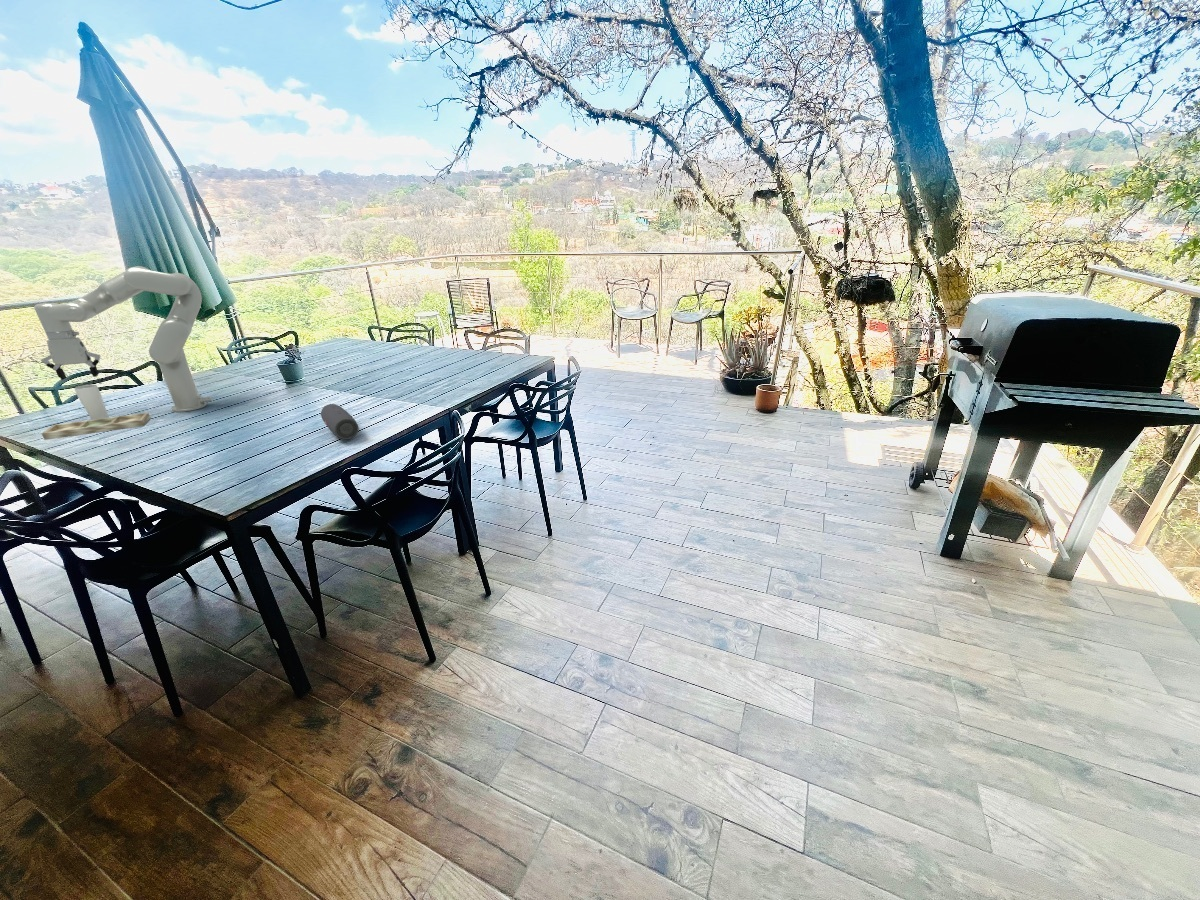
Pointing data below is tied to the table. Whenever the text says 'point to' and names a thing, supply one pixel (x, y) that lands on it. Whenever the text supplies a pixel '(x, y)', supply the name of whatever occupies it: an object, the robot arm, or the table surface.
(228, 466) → the table surface
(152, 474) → the table surface
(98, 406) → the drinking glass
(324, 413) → the bluetooth speaker
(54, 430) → the wooden compartment tray
